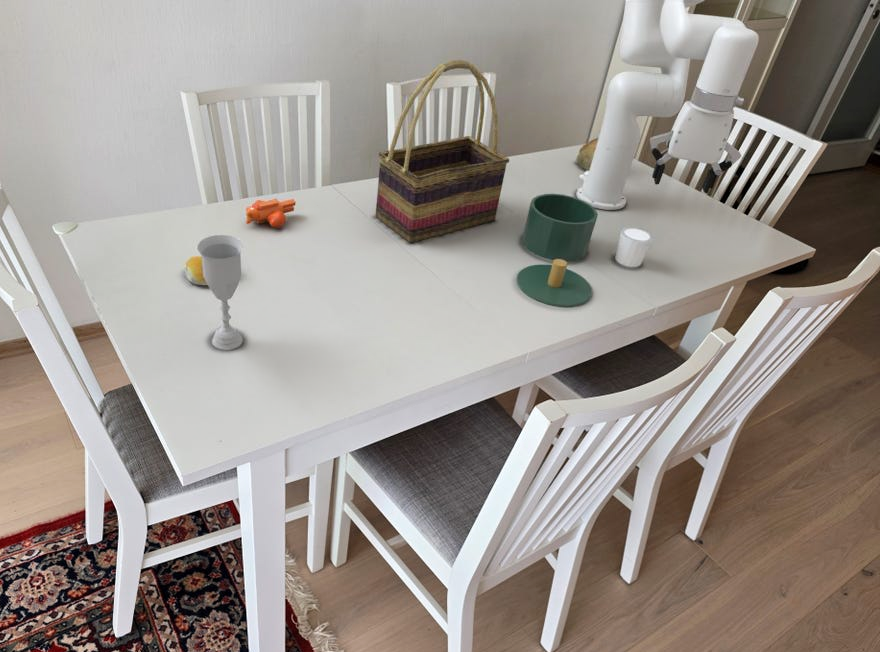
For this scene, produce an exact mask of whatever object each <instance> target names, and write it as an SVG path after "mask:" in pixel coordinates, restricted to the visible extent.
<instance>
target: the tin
mask: <svg viewBox="0 0 880 652" xmlns="http://www.w3.org/2000/svg"><path fill="white" fill-rule="evenodd" d="M598 215H599V213H598V211H597V208H595V207H593V206H591V205H590V204H588V203H587V202H585V201H583V200H580V199H578V197H576V196H575V197H574V196H571V195H566V194H562V193H561V194H560V193H544V194H539V195H536V196H535V197H532V199H531V201H530V204H529V209H528V212H527V216H526V221H525V225H524V228H523V233H522V234H523V235H522V238H521V241H522V244H523V246H524V247H525V248H526V249H527V251H529V252H530V253H532V254H534V255H535V256H537V257H541V258H543V259H546V260H550V261H554V260H555V259H562V260H564V261H566V262H575V261H578V260H581V259H583V258H584V257H585V256H586V255H587V252H588V249H589V247H590V246H589V245H590V242H591V239H592V235H593V232H594V229H595V226H596V222H597V219H598Z"/></svg>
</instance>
